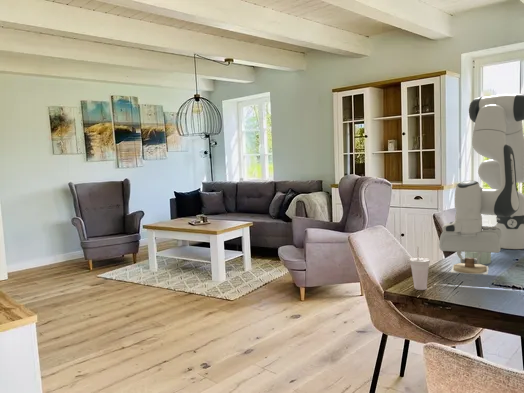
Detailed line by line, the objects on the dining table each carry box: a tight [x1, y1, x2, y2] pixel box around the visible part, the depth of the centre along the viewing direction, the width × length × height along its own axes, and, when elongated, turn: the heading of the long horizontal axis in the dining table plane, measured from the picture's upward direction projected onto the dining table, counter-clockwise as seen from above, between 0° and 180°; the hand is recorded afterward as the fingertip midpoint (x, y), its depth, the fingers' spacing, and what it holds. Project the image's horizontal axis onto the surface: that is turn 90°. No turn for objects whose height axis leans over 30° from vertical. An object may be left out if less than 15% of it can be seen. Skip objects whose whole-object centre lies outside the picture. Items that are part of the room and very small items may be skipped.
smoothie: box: [409, 246, 431, 291], centre depth 146 cm, size 6×6×14 cm
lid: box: [452, 257, 487, 274], centre depth 163 cm, size 11×11×4 cm
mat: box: [450, 263, 490, 276], centre depth 163 cm, size 12×12×1 cm
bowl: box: [464, 252, 492, 265], centre depth 173 cm, size 9×9×5 cm
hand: (469, 263), depth 163 cm, fingers closed on lid, 3 cm apart
